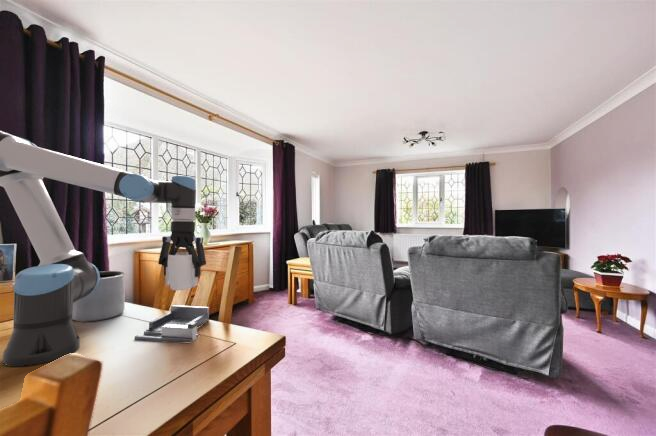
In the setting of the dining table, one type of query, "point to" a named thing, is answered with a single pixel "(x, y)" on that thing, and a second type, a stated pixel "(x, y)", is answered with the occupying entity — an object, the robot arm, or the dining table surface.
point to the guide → (151, 338)
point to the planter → (102, 299)
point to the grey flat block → (180, 331)
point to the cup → (180, 271)
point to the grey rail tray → (181, 317)
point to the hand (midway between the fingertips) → (181, 285)
